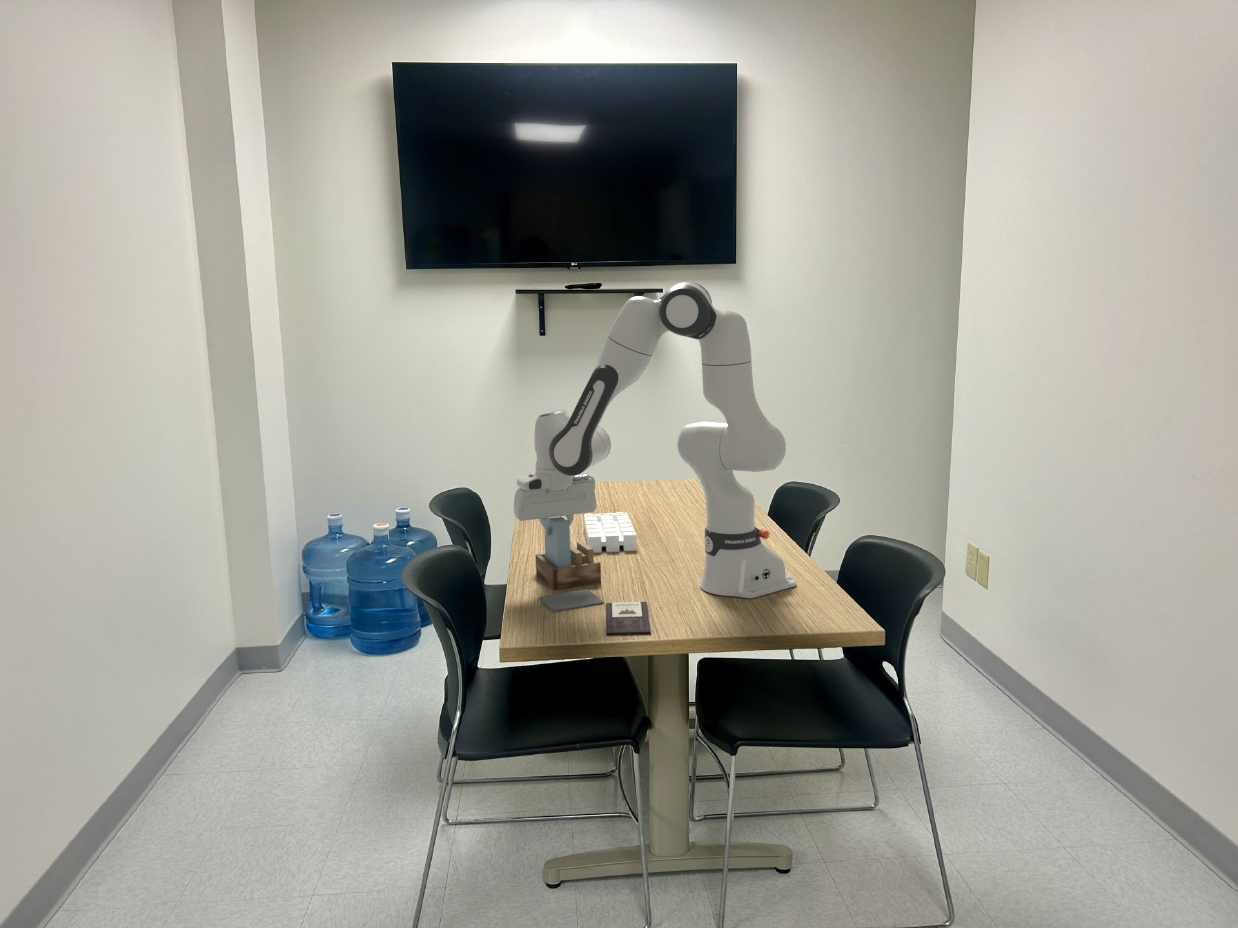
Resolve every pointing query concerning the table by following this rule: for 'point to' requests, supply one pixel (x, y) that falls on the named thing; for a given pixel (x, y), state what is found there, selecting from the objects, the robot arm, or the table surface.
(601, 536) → the organizer
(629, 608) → the chocolate bar
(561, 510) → the robot arm
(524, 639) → the table surface
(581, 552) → the offcuts
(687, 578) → the table surface
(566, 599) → the mat
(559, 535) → the light blue block
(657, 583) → the table surface
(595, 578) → the rack
